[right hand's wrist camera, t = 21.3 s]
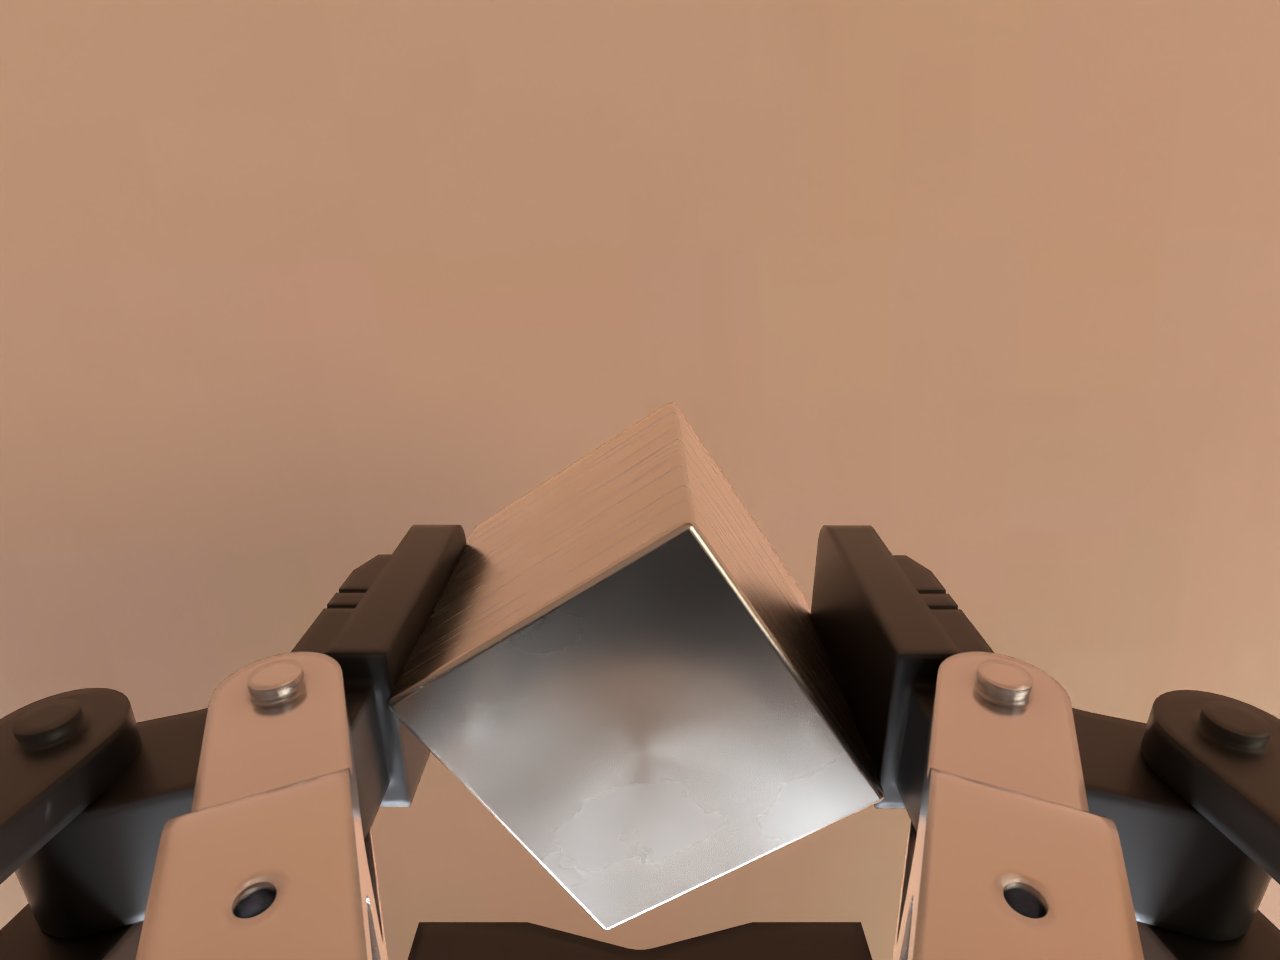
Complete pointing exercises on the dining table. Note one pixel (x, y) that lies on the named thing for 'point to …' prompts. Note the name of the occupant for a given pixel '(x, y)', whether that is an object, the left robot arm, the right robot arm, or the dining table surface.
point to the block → (635, 679)
